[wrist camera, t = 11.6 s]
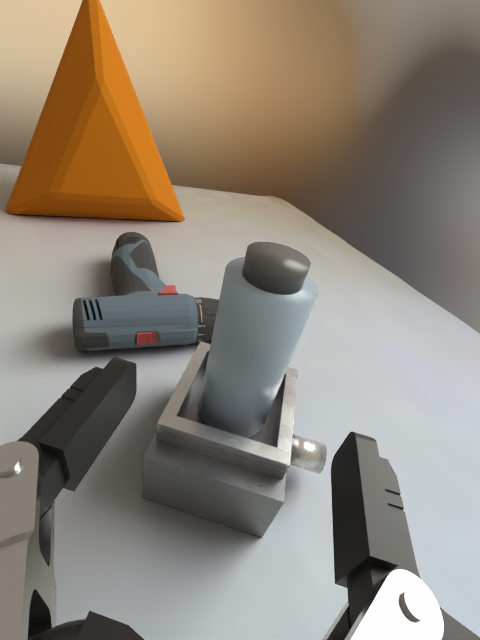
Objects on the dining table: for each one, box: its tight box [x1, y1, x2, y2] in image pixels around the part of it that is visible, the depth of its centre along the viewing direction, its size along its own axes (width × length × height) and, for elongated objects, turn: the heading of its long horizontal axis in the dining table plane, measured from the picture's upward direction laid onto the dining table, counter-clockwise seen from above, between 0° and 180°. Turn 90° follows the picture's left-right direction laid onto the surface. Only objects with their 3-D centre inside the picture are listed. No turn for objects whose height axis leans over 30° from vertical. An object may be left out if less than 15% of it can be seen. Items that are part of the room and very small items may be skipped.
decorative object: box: [6, 0, 185, 221], centre depth 49 cm, size 30×15×30 cm, turn 115°
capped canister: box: [199, 242, 318, 438], centre depth 17 cm, size 5×5×11 cm
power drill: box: [73, 232, 219, 352], centre depth 37 cm, size 5×19×20 cm
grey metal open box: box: [143, 341, 326, 538], centre depth 21 cm, size 11×10×6 cm
